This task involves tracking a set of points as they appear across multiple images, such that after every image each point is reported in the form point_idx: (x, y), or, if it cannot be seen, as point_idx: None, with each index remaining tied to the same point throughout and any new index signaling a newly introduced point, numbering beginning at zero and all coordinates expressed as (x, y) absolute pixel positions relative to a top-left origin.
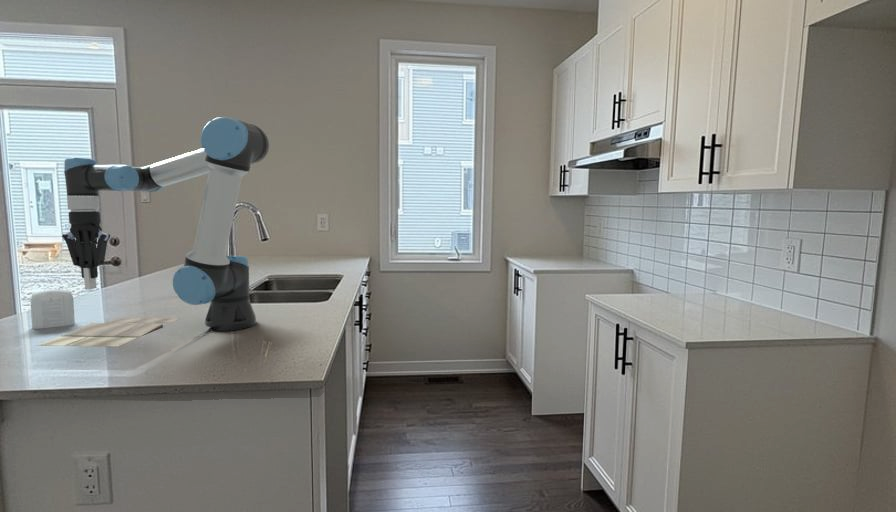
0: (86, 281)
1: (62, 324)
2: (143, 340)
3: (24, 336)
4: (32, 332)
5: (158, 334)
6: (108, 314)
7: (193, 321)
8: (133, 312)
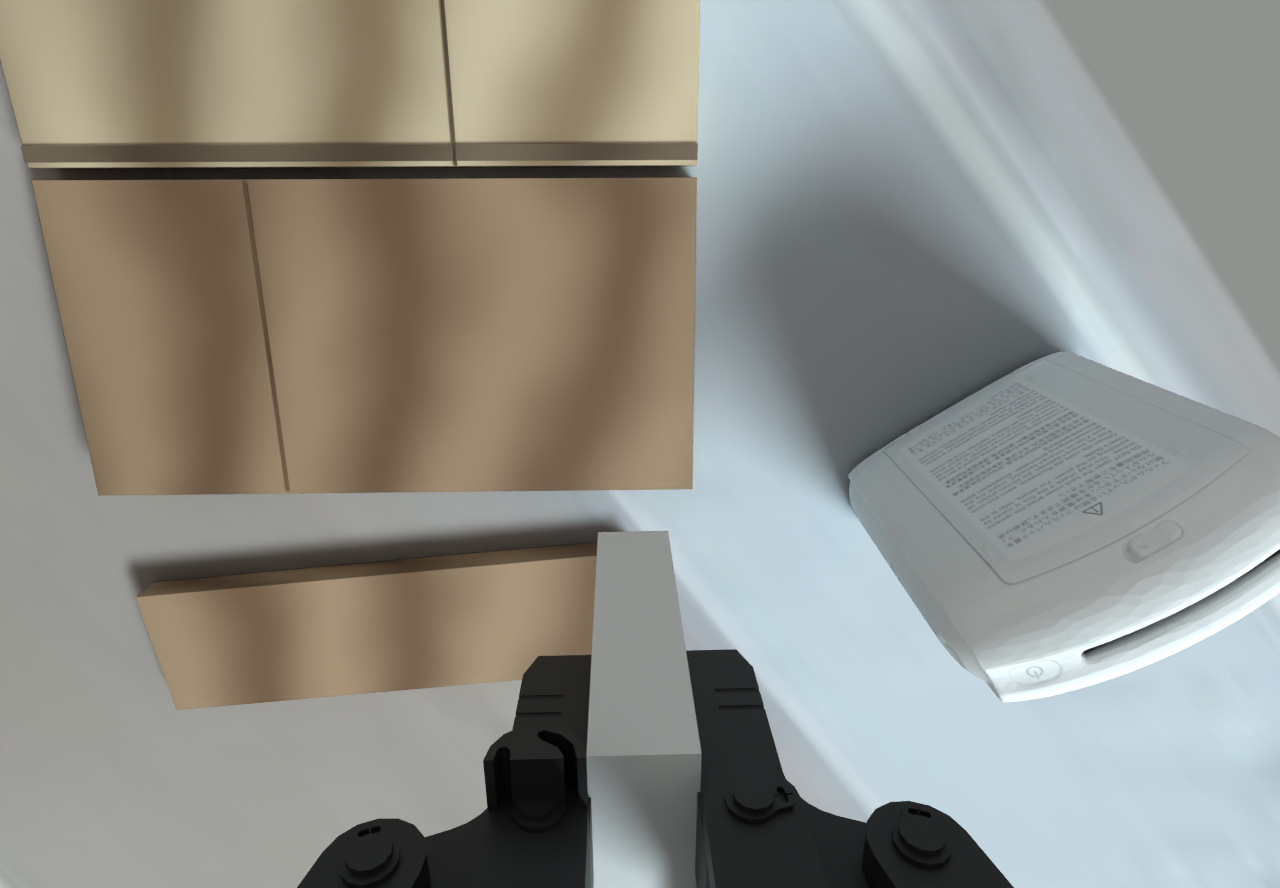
0: (640, 590)
1: (906, 449)
2: None
3: (1057, 240)
4: None
5: None
6: None
7: (107, 707)
8: None
